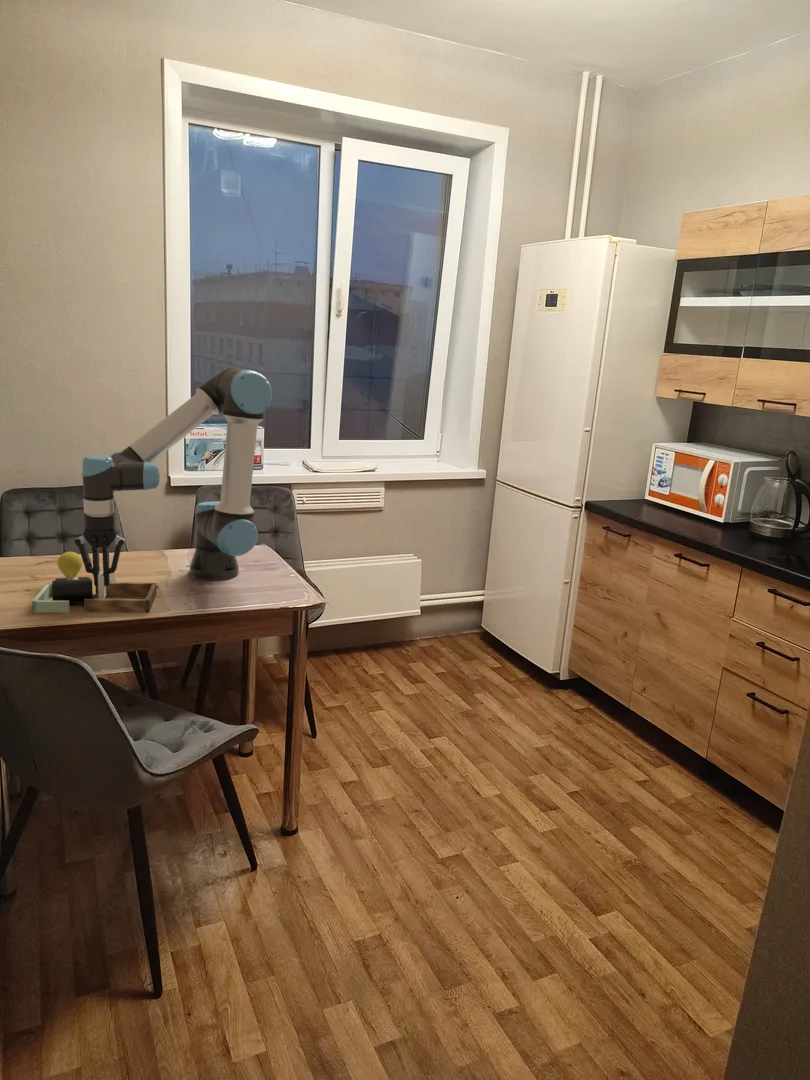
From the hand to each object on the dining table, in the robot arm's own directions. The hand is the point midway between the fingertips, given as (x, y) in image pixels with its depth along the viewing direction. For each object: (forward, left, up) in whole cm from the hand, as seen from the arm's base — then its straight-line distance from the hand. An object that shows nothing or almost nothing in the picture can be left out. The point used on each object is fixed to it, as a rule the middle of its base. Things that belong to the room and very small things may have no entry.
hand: (102, 596), depth 210 cm
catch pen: (+12, 0, -2) cm, 12 cm away
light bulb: (+12, -15, -2) cm, 19 cm away
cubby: (-5, 0, -2) cm, 5 cm away
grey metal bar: (+1, -17, -2) cm, 18 cm away
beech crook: (-8, -11, -2) cm, 14 cm away
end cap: (+8, 0, -2) cm, 8 cm away
